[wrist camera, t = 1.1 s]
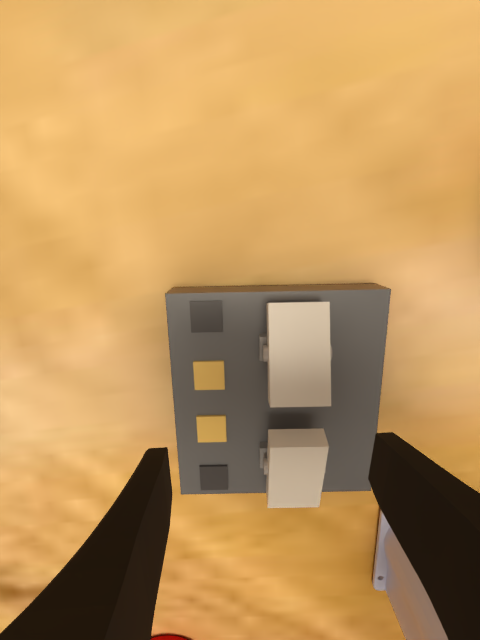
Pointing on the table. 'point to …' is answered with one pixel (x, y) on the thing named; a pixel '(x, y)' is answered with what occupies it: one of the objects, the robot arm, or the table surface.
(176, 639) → the soda can
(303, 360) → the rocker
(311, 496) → the rocker
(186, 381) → the switch unit
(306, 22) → the table surface
